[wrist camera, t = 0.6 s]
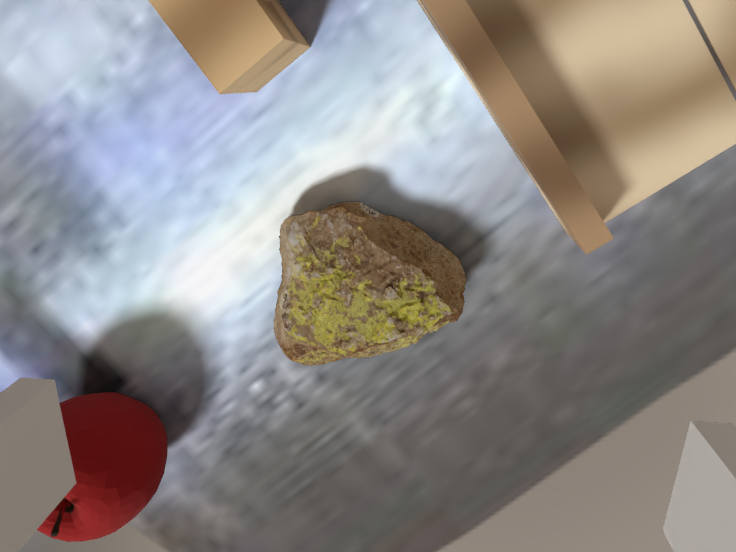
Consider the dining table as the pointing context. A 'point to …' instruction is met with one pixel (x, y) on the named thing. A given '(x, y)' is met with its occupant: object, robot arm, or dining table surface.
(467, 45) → the board
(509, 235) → the dining table surface
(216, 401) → the dining table surface
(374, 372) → the dining table surface
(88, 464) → the apple
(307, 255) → the rock
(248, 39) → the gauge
